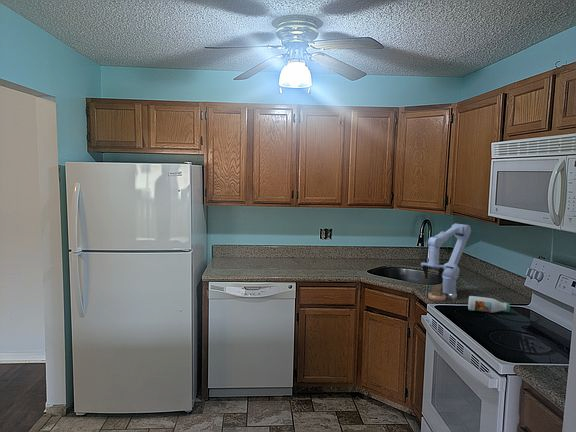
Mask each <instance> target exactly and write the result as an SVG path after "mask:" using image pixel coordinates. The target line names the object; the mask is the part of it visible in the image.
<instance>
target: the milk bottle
mask: <svg viewBox="0 0 576 432" xmlns="http://www.w3.org/2000/svg"><path fill="white" fill-rule="evenodd" d="M467 302H468V303H467V304H468V305H467V308H468V310H469V311H474V312H475V311H476V312H482V313H492V314H494V313H497V312H508V313H509V312H510V310H511V304H510V302H502V301H499V300H497V299H495V298H491V297H483V296H475V295H474V296H473V295H469V296H468V300H467Z"/></svg>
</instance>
